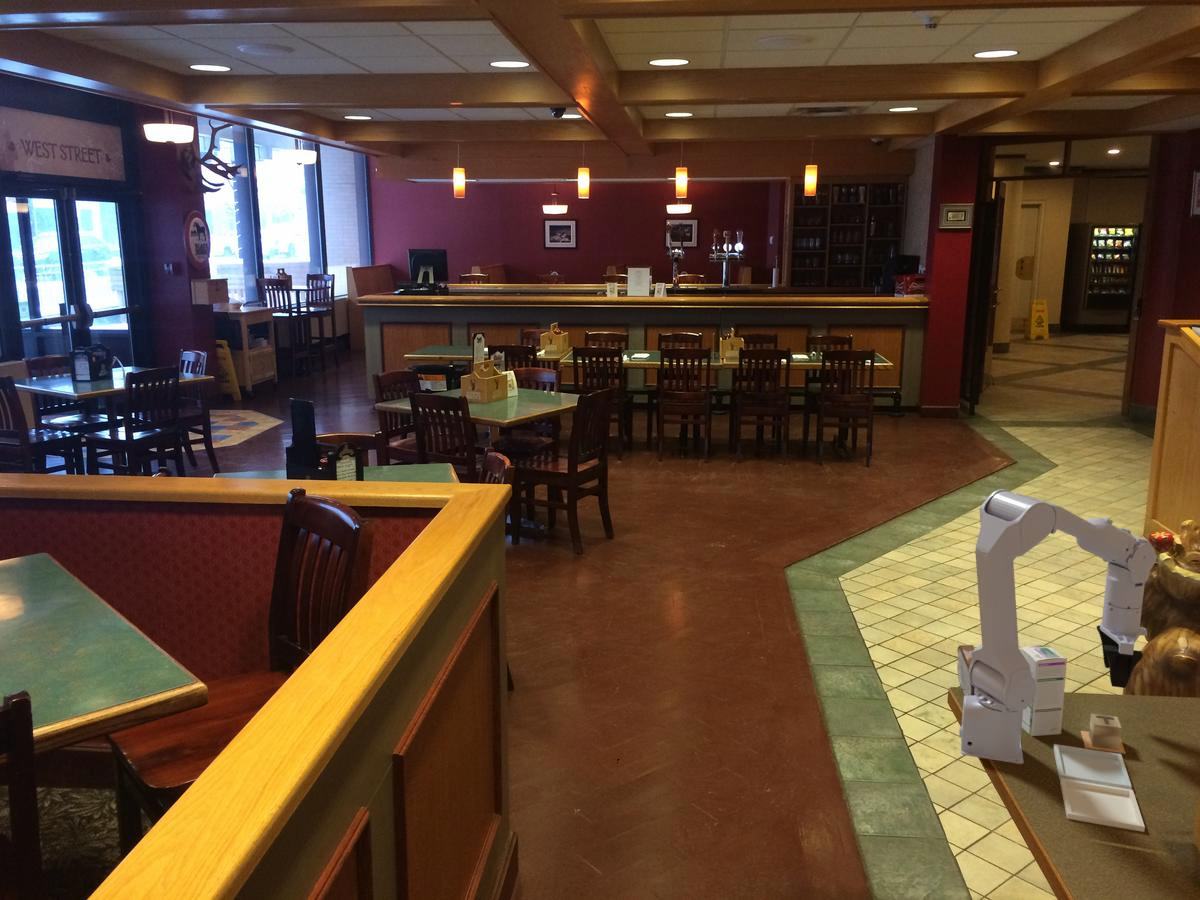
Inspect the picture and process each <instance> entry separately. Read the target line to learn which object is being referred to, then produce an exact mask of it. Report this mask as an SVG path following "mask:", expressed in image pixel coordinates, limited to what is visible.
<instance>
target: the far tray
mask: <svg viewBox="0 0 1200 900" xmlns="http://www.w3.org/2000/svg"><path fill="white" fill-rule="evenodd" d="M1053 754H1054V758H1055V763H1056V764H1055V765H1056V768H1057V774H1058V779H1059V780H1060V779H1061V778H1063V779H1069V780H1075V781H1082V782H1088V783H1094V784H1100V785H1106V786H1112V787H1118V788H1125V789H1131V790H1132V783H1131V781H1130V777H1129V774H1128V770H1127V768H1126V764H1125V761H1124V758H1123V756H1122V753H1116V752H1110V751H1103V750H1097V749H1090V748H1085V747H1084V748H1083V747H1076V746H1070V745H1062V744H1056V743H1054V744H1053Z"/></svg>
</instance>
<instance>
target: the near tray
mask: <svg viewBox="0 0 1200 900" xmlns="http://www.w3.org/2000/svg"><path fill="white" fill-rule="evenodd" d="M1059 784H1060V785H1059V786H1060V788H1061V789H1060V790H1061V794H1062V800H1063V805H1064V809H1065V815H1066V816H1065V817H1066V819H1067V820H1072V821H1073V820H1074V821H1079V822H1083V823H1089V824H1090V823H1091V824H1096V825H1102V826H1107V827H1112V828H1113V827H1114V828H1118V829H1124V830H1128V831H1129V830H1131V831H1135V832H1142V833H1145V829H1146V826H1145V824H1144V820H1143V817H1142V814H1141V811H1140V807H1139V805H1138V802H1137V799H1136V795H1135V793H1134V789H1132V788H1131V789H1125V788H1118V787H1112V786H1106V785H1100V784H1094V783H1088V782H1082V781H1075V780H1069V779H1063V778H1061V779H1060V782H1059Z"/></svg>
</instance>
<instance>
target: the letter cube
mask: <svg viewBox="0 0 1200 900" xmlns="http://www.w3.org/2000/svg"><path fill="white" fill-rule="evenodd" d="M1088 732H1089V737H1090V740H1091V743H1092V746H1095V747H1102V748H1109V749H1116V750H1119V747H1120V738H1122V737H1121V735H1122V726H1121V722H1120V720H1119V717H1118V716H1113V715H1106V714H1097V713H1092V712H1091V713H1090V719H1089V729H1088Z"/></svg>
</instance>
